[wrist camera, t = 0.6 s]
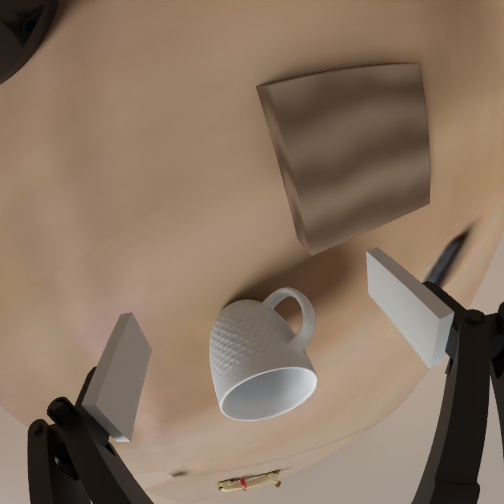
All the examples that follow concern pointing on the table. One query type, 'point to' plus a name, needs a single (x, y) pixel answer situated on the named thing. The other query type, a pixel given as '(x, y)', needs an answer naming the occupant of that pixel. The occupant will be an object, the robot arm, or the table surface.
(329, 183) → the riser board
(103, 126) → the table surface
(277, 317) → the mug
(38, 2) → the robot arm
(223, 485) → the cat figure
